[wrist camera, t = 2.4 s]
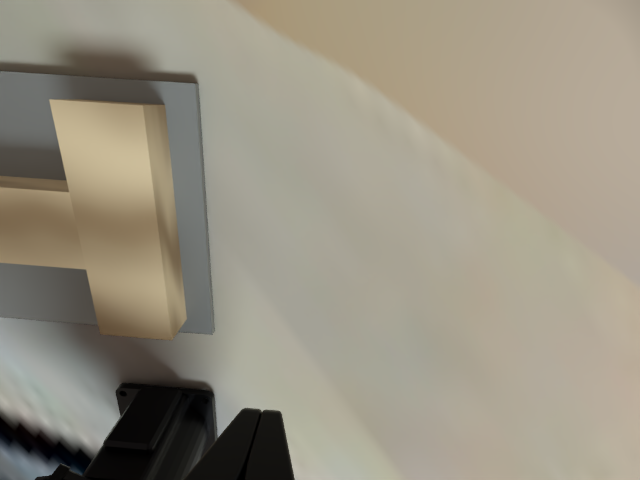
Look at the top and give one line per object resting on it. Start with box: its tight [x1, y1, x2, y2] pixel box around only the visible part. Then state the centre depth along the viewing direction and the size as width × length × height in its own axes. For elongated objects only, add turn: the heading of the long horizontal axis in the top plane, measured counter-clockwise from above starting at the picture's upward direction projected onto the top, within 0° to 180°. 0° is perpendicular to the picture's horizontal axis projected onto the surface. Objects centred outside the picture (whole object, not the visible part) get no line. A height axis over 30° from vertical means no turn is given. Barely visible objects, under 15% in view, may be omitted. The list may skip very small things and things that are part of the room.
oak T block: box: [0, 99, 187, 340], centre depth 18 cm, size 12×12×2 cm
